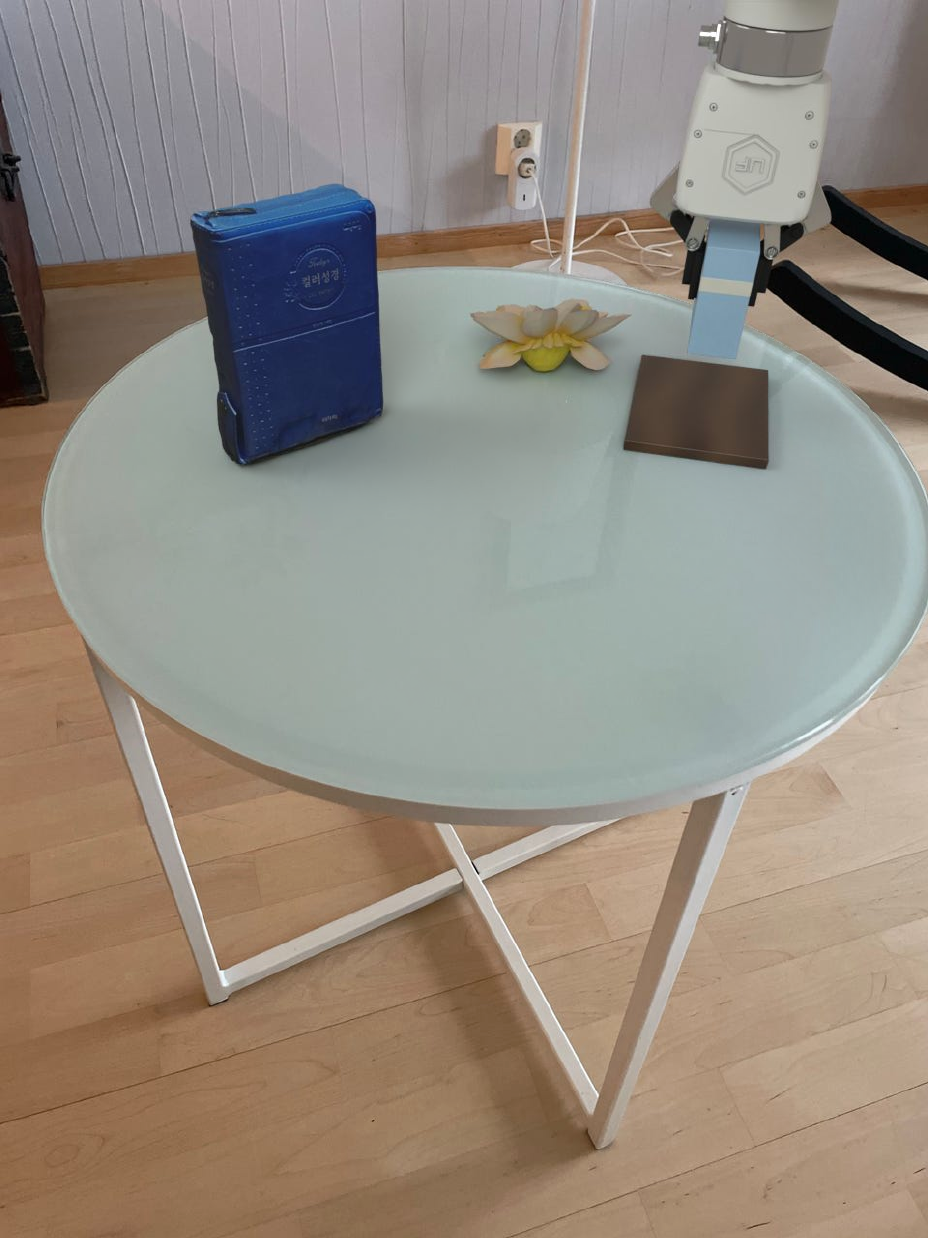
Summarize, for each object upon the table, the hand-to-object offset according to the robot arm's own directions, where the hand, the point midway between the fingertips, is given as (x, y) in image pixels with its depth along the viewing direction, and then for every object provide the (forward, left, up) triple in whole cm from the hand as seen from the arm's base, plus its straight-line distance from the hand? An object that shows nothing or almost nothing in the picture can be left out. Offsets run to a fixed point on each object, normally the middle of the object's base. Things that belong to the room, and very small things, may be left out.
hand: (721, 293), depth 83 cm
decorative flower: (+15, -6, -11) cm, 20 cm away
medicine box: (0, 0, -4) cm, 4 cm away
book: (+33, +13, -11) cm, 37 cm away
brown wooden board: (0, 0, -11) cm, 11 cm away
